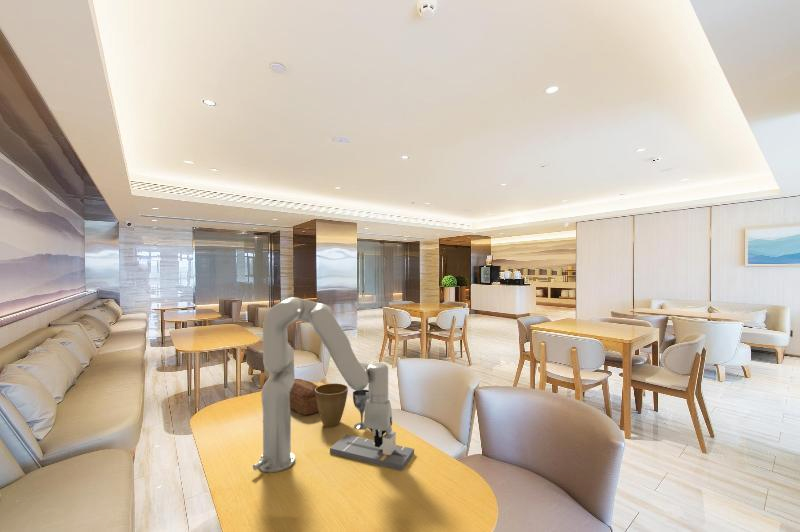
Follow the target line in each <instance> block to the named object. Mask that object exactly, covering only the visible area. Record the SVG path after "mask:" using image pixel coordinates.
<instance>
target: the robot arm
mask: <svg viewBox="0 0 800 532" xmlns="http://www.w3.org/2000/svg"><path fill="white" fill-rule="evenodd" d="M333 313H334V312H333V309H332V308H331V307H330V306H329V305H327V304H325V303H320V302H317V301H313V300H308V299H304V298H300V297H297V296H296V297H295V296H294V297H293V296H291V297H288V298H285V299H284V300H282V301H280V302H278V303H276V304H275V305H273V306H272V307H270V309H268V311H267V312H266V314H265V316H264V319H263V323H262V362H263V367H264V369H265V370H266V371H267V372H268V375H269V376H268V379H267V380H266V381H265V383H264V385H263V387H262V389H261V406H262V407H261V408H262V453H263V454H262V453H261V455H260V459H259V461H257V462H256V463H255V464H253V465H252V469H253V470H254V471H257V470H258V469H259V470H260V471H262V472H265V473H277V472H281V471H282V472H283V471H284V470H287V469H289V468H290V467H291V466H292V465H293V464H294V463H295V462H296V455H295V453H293V452H292V451H291V450H292V448H291V446H292V443H291V442H292V441H291V440H292V437H291V434H292V433H291V431H292V430H291V429H292V427H291V422H292V421H291V419H292V418H291V417H292V416H291V408H290V392H291V389H292V387H293V385H294V379H295V355H294V350H293V347H292V345H290V343H289V341H288V337H289V335H288V333H289V332H288V326H289V324H291V323H293V322H295V321H300V322H301V321H302V322H306V323H309V324H310V326H311V327H312V329H313V330H314V332H315V333H316V335H317V337H318V338H319V339H320V340H321V342H322V344H323V345H324V347H325V348H326V349H327V351H328V353H329V356H330V358H331V359H332V361H333V362H334V364H335V366H336V368H337V370H338V371H339V373H340V375H341V376H342V378H343V379H344V381H345V382H346V384H347V386H348V387H349V388H351V389H352V390H354V391H356V390H358V391H359V390H363V389H364V390H365V388H366V387H368V390H369V392H366V396H368V400H367V401H366V406H365V411H364V413H363V422H364V425H365V427H366V428H367V429H368V430H369V431H371V433H372V435H373V436H374V439H373V440H374V443H375V447H380V446H381V445H382V444H383V436H384V435H385V434H386V433H390V432H391V431H393V427H392V425H393V412H392V411H393V410H392V405H391V401H390V399H389V367H388V365H387V364H385V363H382V362H381V363H380V362H377V363H376V362H375V363H366V362H365V363H364V362H360V361H359V360H358V358H357V357H356V355H355V353H354V350H353V349H352V345H351V343H350V339H349V337H348V335H346V333H345V332H344V330H343V329H342V327H341V325H340V323H338V321H337V319H336V318H335V316H334V314H333ZM367 429H366V430H367Z"/></svg>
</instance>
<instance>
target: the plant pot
mask: <svg viewBox="0 0 800 532" xmlns="http://www.w3.org/2000/svg"><path fill="white" fill-rule="evenodd" d="M317 386H318V387H317V388H316V389H315V395H316V401H317V406H318V410H319V412H318V414H319V417H320V420H321V423H322V425H323V426H324V427H326V428H333V427H337V426H339V424H340V423H341V420H342V417H343V414H344V410H345V407H346V403H347V398H348V391H349V386H348V385H346V384H342V383H325V384H321V385H317Z"/></svg>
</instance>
